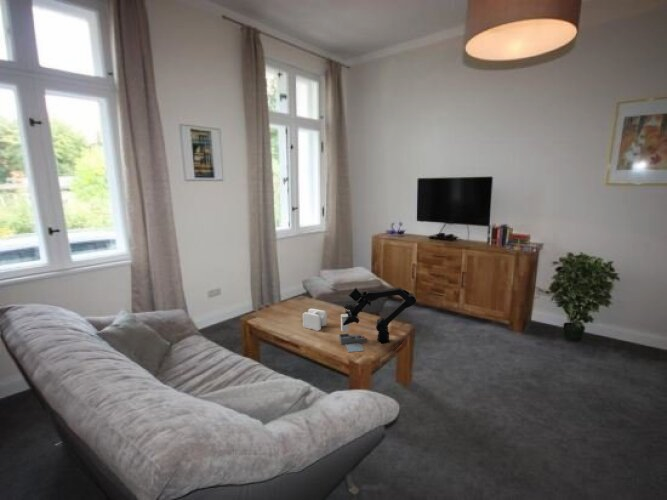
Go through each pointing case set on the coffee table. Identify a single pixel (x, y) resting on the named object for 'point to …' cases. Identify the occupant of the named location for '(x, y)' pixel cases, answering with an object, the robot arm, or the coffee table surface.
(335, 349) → the coffee table surface
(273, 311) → the coffee table surface
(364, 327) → the coffee table surface
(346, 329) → the block
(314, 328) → the cable organizer
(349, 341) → the power strip
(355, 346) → the rubber pad
